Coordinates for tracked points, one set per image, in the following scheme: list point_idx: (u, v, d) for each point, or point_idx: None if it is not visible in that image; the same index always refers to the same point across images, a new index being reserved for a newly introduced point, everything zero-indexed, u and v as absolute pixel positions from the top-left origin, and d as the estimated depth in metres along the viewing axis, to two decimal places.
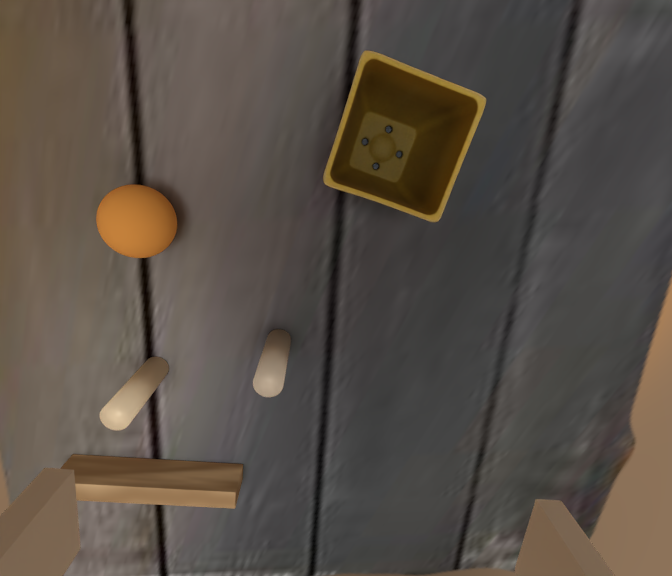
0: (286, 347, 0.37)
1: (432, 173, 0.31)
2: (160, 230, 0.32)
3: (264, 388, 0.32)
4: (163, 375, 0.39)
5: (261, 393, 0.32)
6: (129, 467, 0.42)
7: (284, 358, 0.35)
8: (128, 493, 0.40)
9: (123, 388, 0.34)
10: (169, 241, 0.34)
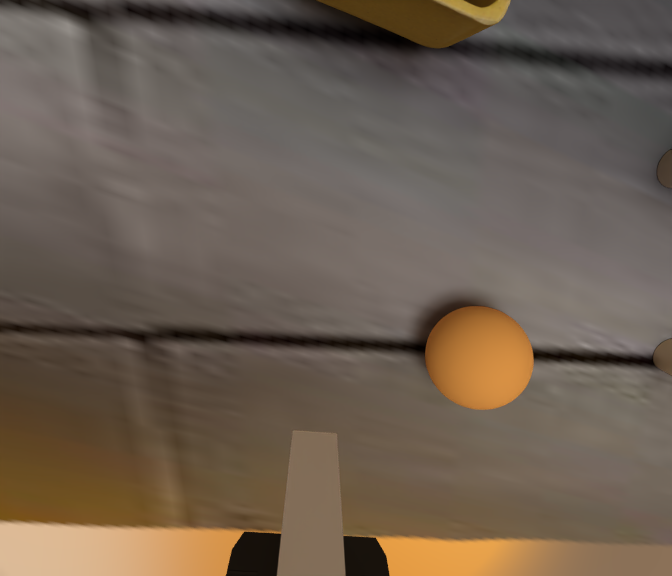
0: None
1: None
2: (503, 330, 0.21)
3: None
4: None
5: None
6: None
7: None
8: None
9: None
10: (512, 319, 0.23)
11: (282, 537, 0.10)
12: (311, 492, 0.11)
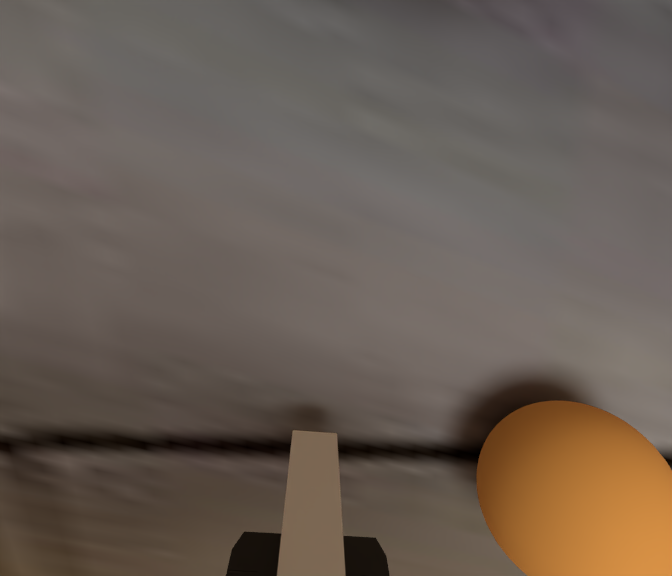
0: None
1: None
2: (638, 469, 0.11)
3: None
4: None
5: None
6: None
7: None
8: None
9: None
10: (640, 435, 0.13)
11: (282, 537, 0.10)
12: (311, 492, 0.11)
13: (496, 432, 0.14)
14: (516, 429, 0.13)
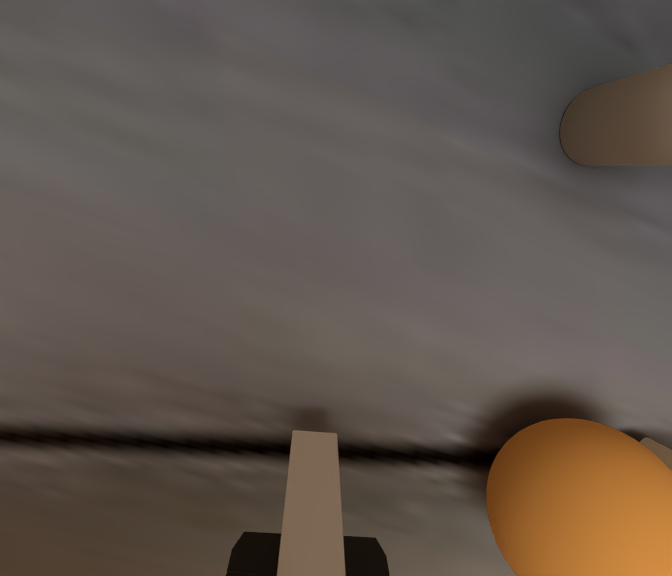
0: (667, 66, 0.10)
1: None
2: (547, 424, 0.14)
3: None
4: None
5: None
6: None
7: None
8: None
9: None
10: (578, 453, 0.12)
11: (282, 537, 0.10)
12: (311, 492, 0.11)
13: None
14: None
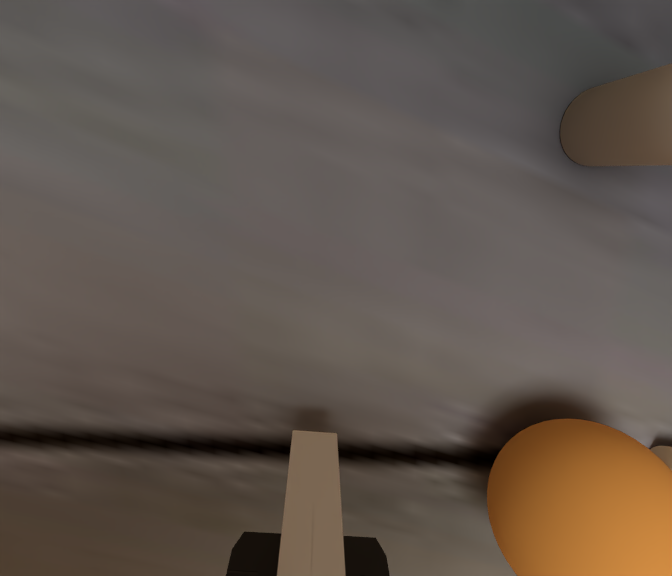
0: (667, 66, 0.10)
1: None
2: (548, 425, 0.14)
3: None
4: None
5: None
6: None
7: None
8: None
9: None
10: (579, 454, 0.12)
11: (282, 537, 0.10)
12: (311, 492, 0.11)
13: None
14: None
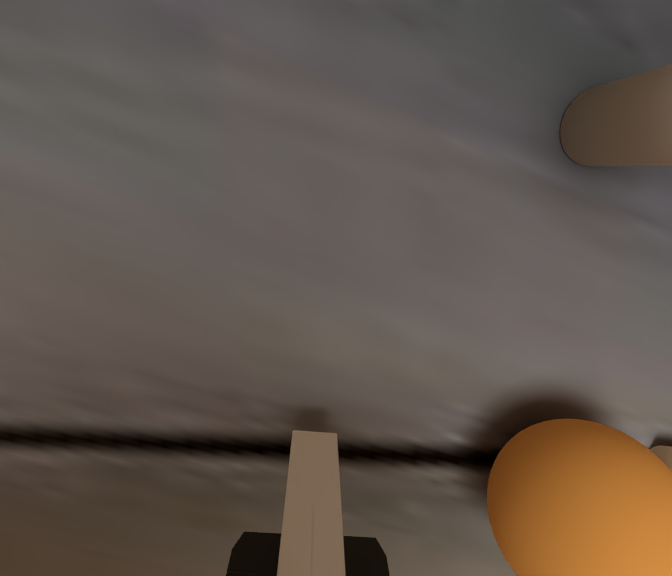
0: (667, 67, 0.10)
1: None
2: (548, 425, 0.14)
3: None
4: None
5: None
6: None
7: None
8: None
9: None
10: (579, 454, 0.12)
11: (282, 537, 0.10)
12: (311, 492, 0.11)
13: None
14: None
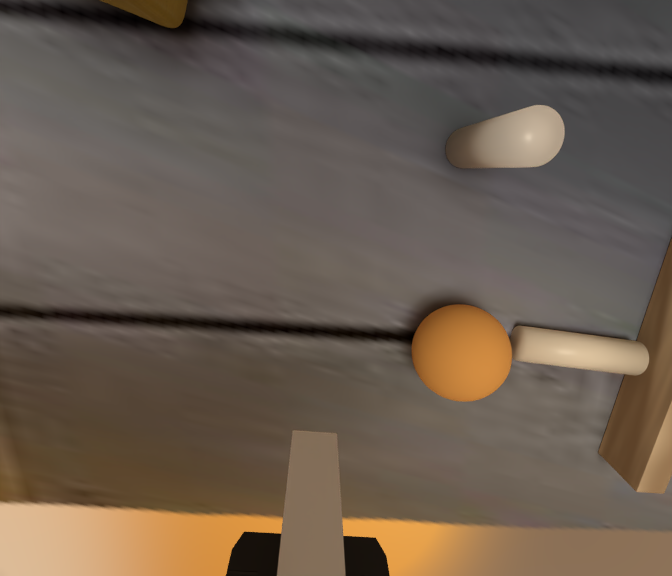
0: (475, 124, 0.21)
1: None
2: (443, 307, 0.26)
3: (544, 144, 0.17)
4: (543, 329, 0.27)
5: (554, 151, 0.17)
6: (638, 388, 0.28)
7: (491, 119, 0.19)
8: None
9: (608, 367, 0.27)
10: (451, 313, 0.24)
11: (282, 537, 0.10)
12: (311, 492, 0.11)
13: None
14: None
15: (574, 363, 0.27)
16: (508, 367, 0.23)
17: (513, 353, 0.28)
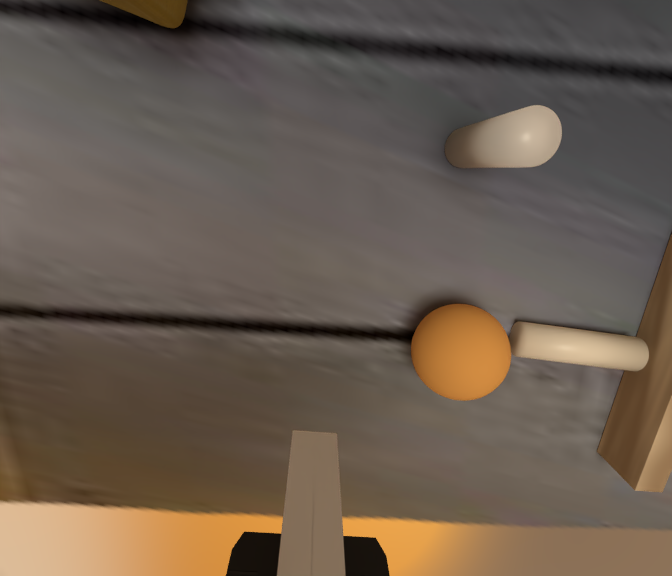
0: (473, 124, 0.21)
1: None
2: (442, 306, 0.26)
3: (541, 144, 0.17)
4: (541, 324, 0.27)
5: (551, 151, 0.17)
6: (636, 387, 0.28)
7: (489, 119, 0.19)
8: None
9: (610, 360, 0.27)
10: (450, 312, 0.24)
11: (282, 537, 0.10)
12: (311, 492, 0.11)
13: None
14: None
15: (576, 356, 0.27)
16: (507, 366, 0.23)
17: (514, 350, 0.28)
